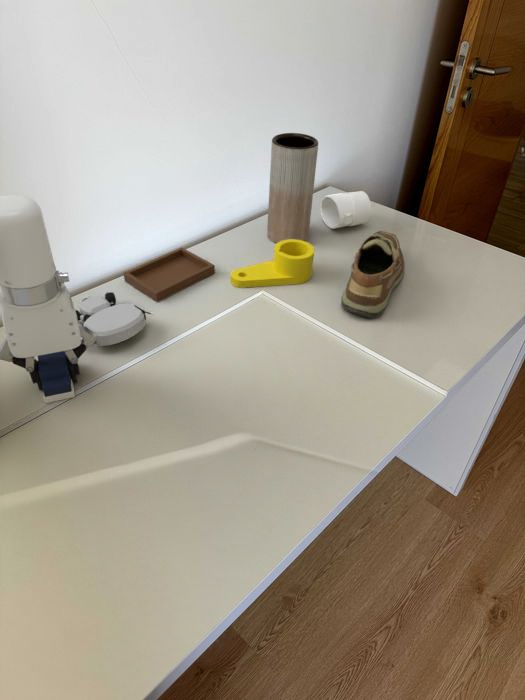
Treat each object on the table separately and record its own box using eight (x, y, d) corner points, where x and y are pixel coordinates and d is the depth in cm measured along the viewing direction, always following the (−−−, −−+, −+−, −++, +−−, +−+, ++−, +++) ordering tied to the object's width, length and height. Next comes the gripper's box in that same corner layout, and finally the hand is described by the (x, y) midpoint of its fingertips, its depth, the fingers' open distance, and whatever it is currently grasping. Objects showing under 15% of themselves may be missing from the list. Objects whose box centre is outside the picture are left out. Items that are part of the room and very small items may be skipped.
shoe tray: (157, 302, 104) (156, 293, 103) (124, 281, 109) (123, 272, 108) (214, 273, 113) (214, 265, 112) (182, 255, 118) (181, 247, 117)
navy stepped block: (42, 366, 88) (36, 346, 85) (69, 361, 89) (64, 341, 87) (45, 403, 82) (38, 382, 79) (74, 397, 83) (69, 376, 80)
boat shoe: (407, 257, 122) (417, 214, 115) (392, 327, 100) (403, 280, 94) (360, 248, 124) (367, 206, 117) (336, 316, 103) (343, 269, 96)
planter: (272, 248, 123) (278, 149, 108) (262, 228, 130) (266, 133, 115) (313, 244, 125) (324, 147, 110) (301, 225, 132) (310, 131, 117)
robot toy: (58, 326, 98) (99, 361, 89) (51, 306, 95) (94, 340, 87) (115, 302, 105) (159, 332, 96) (111, 282, 102) (156, 311, 93)
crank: (302, 261, 118) (304, 237, 115) (317, 280, 112) (320, 255, 109) (225, 273, 113) (225, 248, 109) (237, 293, 107) (237, 268, 103)
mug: (369, 230, 131) (375, 199, 126) (337, 236, 128) (341, 205, 123) (345, 210, 140) (349, 181, 135) (314, 215, 137) (317, 185, 132)
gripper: (89, 263, 79) (107, 356, 91) (-35, 281, 74) (1, 376, 86) (95, 290, 74) (114, 385, 85) (-38, 310, 69) (1, 408, 80)
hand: (57, 380), depth 85 cm, fingers closed on navy stepped block, 4 cm apart
